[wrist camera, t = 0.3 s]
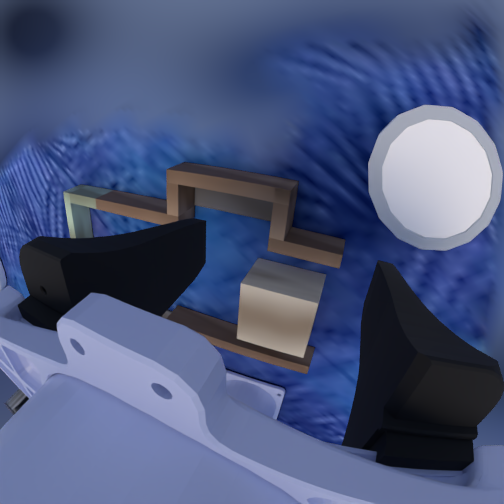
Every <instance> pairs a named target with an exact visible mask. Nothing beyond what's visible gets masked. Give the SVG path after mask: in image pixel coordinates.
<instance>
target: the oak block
mask: <svg viewBox="0 0 504 504" xmlns="http://www.w3.org/2000/svg"><path fill="white" fill-rule="evenodd" d="M325 277H326V274H322V273H318V272H314V271H310V270H306V269H302V268H298V267H294V266H290V265H286V264H282V263H278V262H274V261H269V260H265V259H261V258H258V259H257V260H256V262H255V263H254V265H253V266H252V268H251V269H250V271H249V272H248V273H247V275H246V276H245V278H244V279H243V281H242V282H241V288H240V301H239V315H238V329H237V339H240V340H243V341H246V342H249V343H253V344H256V345H259V346H263V347H266V348H269V349H273V350H276V351H280V352H283V353H287V354H290V355H294V356H298V357H301V358H303V357H304V354H305V350H306V347H307V344H308V341H309V337H310V334H311V330H312V327H313V323H314V320H315V316H316V312H317V309H318V305H319V301H320V297H321V293H322V289H323V285H324V281H325Z"/></svg>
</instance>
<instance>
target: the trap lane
mask: <svg viewBox="0 0 504 504" xmlns="http://www.w3.org/2000/svg"><path fill="white" fill-rule="evenodd" d="M298 183H299V181H295V180H290V179H285V178H280V177H275V176H269V175H264V174H258V173H252V172H247V171H241V170H235V169H228V168H222V167H215V166H209V165H202V164H194V163H187V162H184V163H181V164H179V165H176V166H174V167H171V168H169V169H167V200H163V199H158V198H153V197H147V196H142V195H137V194H132V193H126V192H121V191H115V190H110V189H104V188H98V187H93V186H87V185H78V186H76V187H74V188H71V189H69V190H67V191H65V192H63V193H64V200H65V207H66V214H67V220H68V226H69V232H70V237H71V238H93V232H92V225H91V218H90V210H89V207H90V208H94V209H99V210H103V211H107V212H111V213H115V214H119V215H124V216H128V217H132V218H136V219H140V220H144V221H148V222H152V223H157V224H161V225H164V224H167V223H171V222H175V221H179V220H184V219H190V218H194V213H195V205H197V206H201V207H206V208H211V209H216V210H221V211H225V212H230V213H235V214H239V215H244V216H249V217H253V218H258V219H262V220H267V221H271V226H270V234H269V242H268V250H267V251H271V252H275V253H279V254H283V255H287V256H291V257H295V258H299V259H303V260H307V261H311V262H315V263H319V264H323V265H327V266H331V267H335V268H339V267H340V264H341V260H342V256H343V250H344V245H345V240H344V239H340V238H336V237H332V236H328V235H324V234H320V233H315V232H311V231H307V230H303V229H298V228H294V227H292V223H293V217H294V210H295V204H296V197H297V190H298ZM162 318H165V319H168V320H170V321H173V322H176V323H179V324H181V325H184V326H186V327H188V328H190V329H192V330H193V331H195V332H197V333H199V334H200V335H202V336H204V337H205V338H206V339H207V340H208V341H209V342H210V343H211V344H212V345H215V346H218V347H220V348H223V349H226V350H229V351H232V352H235V353H238V354H241V355H244V356H248V357H251V358H254V359H257V360H260V361H263V362H267V363H270V364H273V365H277V366H280V367H284V368H287V369H291V370H294V371H298V372H301V373H305V374H307V372H308V369H309V366H310V363H311V359H312V356H313V352H314V349H315V347H311V346H307V347H306V350H305V354H304V357H303V358H301V357H298V356H294V355H290V354H287V353H283V352H280V351H276V350H273V349H269V348H266V347H263V346H259V345H256V344H253V343H249V342H246V341H243V340H240V339H237V329H238V325H235V324H232V323H229V322H226V321H223V320H220V319H217V318H214V317H211V316H208V315H205V314H202V313H199V312H196V311H193V310H190V309H187V308H184V307H181V306H179V305H178V306H177V307H176V308H175V309H174V310H173V312H172V311H169V310H167V311H166V312H165V313H164V314H163V316H162Z"/></svg>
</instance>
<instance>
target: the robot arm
mask: <svg viewBox="0 0 504 504" xmlns="http://www.w3.org/2000/svg"><path fill="white" fill-rule="evenodd" d="M19 258H20V265H21V269H22V273H23V276H24V279H25V282H26V285H27V288H28V291H29V294H30V296H29V297H27V298H26V299H25V298H24V297H23V295H22V294H21V293H19V292H18V291H16V290H15V289H14V288H12V287H11V286H7V287H5V288H4V289H3V290H1V291H0V368H1V369H2V370H3V371H4V372H5V374H6V375H7V376H8V377H9V378H10V379H11V380H12V381H13V382H14V383H15V384H16V385H17V386H18V387H19V389H20V390H21V391H22V392H23V393H24V394H25V395H26V396H27V397H28V398H29V400H28V401H27V402H26V403H25V404H24V405H23V406H22V407H21V408H20V409H19V410H18V411H17V412H16V413H15V414H14V416H13V417H12V418H11V419H10V420H9V421H8V422H7V423H6V424H5V425H4V426H3V427H2V428H1V430H0V504H504V445H492V446H491V445H490V446H486V445H485V446H480V447H477V448H475V449H473V440H474V439H475V438H477V435H478V432H477V425H478V424H479V423H480V422H481V421H482V420H483V419H484V418H485V417H486V416H487V414H488V413H489V412H490V411H491V410H492V409H493V408H494V407H495V405H496V404H497V403H498V401H499V400H500V398H501V396H502V393H503V391H504V382H503V378H502V374H501V371H500V367H499V364H498V361H497V360H495V359H493V358H491V357H490V356H488V355H486V354H484V353H482V352H481V351H479V350H477V349H475V348H474V347H472V346H471V345H469V344H468V343H466V342H465V341H464V340H462V339H461V338H459V337H458V336H457V335H455V334H454V333H453V332H452V331H451V330H449V329H448V328H447V327H446V326H445V325H444V324H442V323H441V322H440V321H439V320H438V319H437V318H436V317H435V316H434V315H433V314H432V313H431V312H430V311H429V310H428V309H427V308H426V306H425V305H424V304H423V303H422V302H421V301H420V299H419V298H418V297H417V296H416V294H415V293H414V292H413V291H412V289H411V288H410V287H409V285H408V284H407V283H406V281H405V280H404V278H403V277H402V276H401V274H400V273H399V271H398V270H397V269H396V267H395V266H394V265H393V264H391V263H387V262H383V261H379V260H378V262H377V265H376V268H375V271H374V275H373V278H372V281H371V284H370V287H369V290H368V293H367V296H366V299H365V302H364V307H363V314H362V320H361V341H360V364H359V375H358V381H357V386H356V391H355V396H354V401H353V405H352V410H351V414H350V418H349V422H348V425H347V429H346V433H345V436H344V440H343V443H342V446H341V445H336V444H332V443H327V442H323V441H320V440H318V439H316V438H313V437H311V436H309V435H307V434H304V433H302V432H300V431H298V430H296V429H294V428H291V427H289V426H287V425H285V424H283V423H281V422H279V421H277V417H278V413H279V410H280V407H281V404H282V401H283V397H284V394H285V389H284V388H282V387H278V386H275V385H271V384H268V383H265V382H262V381H259V380H255V379H252V378H249V377H246V376H243V375H240V374H237V373H234V372H231V371H228V370H226V369H225V366H224V363H223V360H222V357H221V355H220V353H219V352H218V351H217V350H216V349H215V348H214V346H213V345H212V344H211V343H210V342H209V341H208V340H207V339H206V338H205V337H204V336H202V335H200V334H199V333H197V332H195V331H193V330H192V329H190V328H188V327H186V326H184V325H181V324H179V323H176V322H173V321H170V320H168V319H165V318H162V316H163V314H164V313H165V312H166V311H167V310H168V308H169V307H170V306H171V305H172V304H173V303H174V302H175V301H176V300H177V299H178V297H179V296H180V295H181V294H182V293H183V292H184V291H185V290H186V289H187V287H188V286H189V285H190V284H191V283H192V282H193V281H194V279H195V278H196V277H197V275H198V274H199V272H200V271H201V269H202V267H203V266H204V264H205V263H206V221H204V220H200V219H195V218H190V219H184V220H179V221H175V222H171V223H167V224H164V225H160V226H156V227H152V228H148V229H144V230H140V231H135V232H131V233H126V234H120V235H114V236H105V237H94V238H56V237H44V236H40V237H37V238H35V239H33V240H32V241H30V242H28V243H27V244H25V245H23V246H22V248H21V249H20V256H19Z"/></svg>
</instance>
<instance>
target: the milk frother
mask: <svg viewBox="0 0 504 504" xmlns="http://www.w3.org/2000/svg"><path fill="white" fill-rule="evenodd" d="M28 400H29V398H28V397H27V396H26V395H25V394H24V393H23V392H22V391H21V390H20V389H18V390H17V392H16V393H14V395H12V397H10V399H9V400H8V401H7V402H6V403H4V404H5V405H6V407H7V408H8V409H9V410H10V411H11V412H12V414H13V415H14V414H15V413H16V412H17V411H18V410H19V409H20V408H21V407H22V406H23V405H24V404H25V403H26V402H27V401H28Z"/></svg>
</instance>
